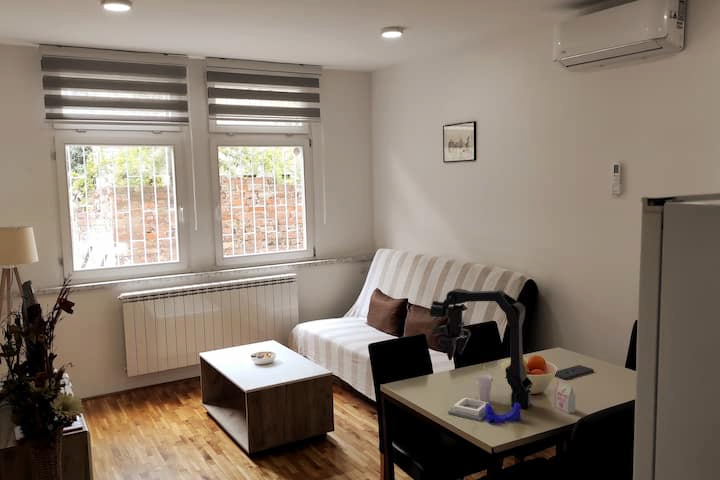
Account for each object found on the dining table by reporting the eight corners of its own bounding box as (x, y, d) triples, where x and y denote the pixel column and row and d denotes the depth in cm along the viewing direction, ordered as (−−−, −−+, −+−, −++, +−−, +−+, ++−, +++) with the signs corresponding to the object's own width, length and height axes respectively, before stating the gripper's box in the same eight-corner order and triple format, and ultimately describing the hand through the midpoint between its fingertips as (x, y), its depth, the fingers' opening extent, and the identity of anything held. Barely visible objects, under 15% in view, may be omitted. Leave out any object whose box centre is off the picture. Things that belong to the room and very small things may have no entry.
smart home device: (550, 372, 265) (579, 364, 275) (549, 376, 265) (579, 368, 275) (565, 377, 258) (594, 369, 268) (565, 381, 258) (594, 372, 268)
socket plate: (494, 409, 226) (494, 402, 226) (480, 421, 215) (481, 413, 215) (462, 402, 233) (462, 395, 233) (448, 413, 222) (448, 406, 222)
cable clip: (488, 424, 214) (488, 407, 213) (485, 419, 218) (485, 403, 217) (521, 423, 214) (521, 407, 213) (517, 418, 218) (518, 402, 218)
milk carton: (561, 405, 230) (562, 380, 229) (574, 411, 224) (575, 386, 222) (554, 407, 228) (555, 382, 227) (567, 413, 222) (568, 387, 221)
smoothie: (492, 398, 237) (493, 364, 236) (492, 404, 231) (492, 369, 230) (476, 397, 239) (477, 363, 238) (475, 403, 233) (475, 368, 231)
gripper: (447, 313, 254) (447, 348, 256) (427, 322, 239) (426, 359, 241) (471, 316, 248) (471, 352, 250) (452, 325, 233) (451, 364, 234)
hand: (455, 357), depth 244 cm, fingers open, 9 cm apart
